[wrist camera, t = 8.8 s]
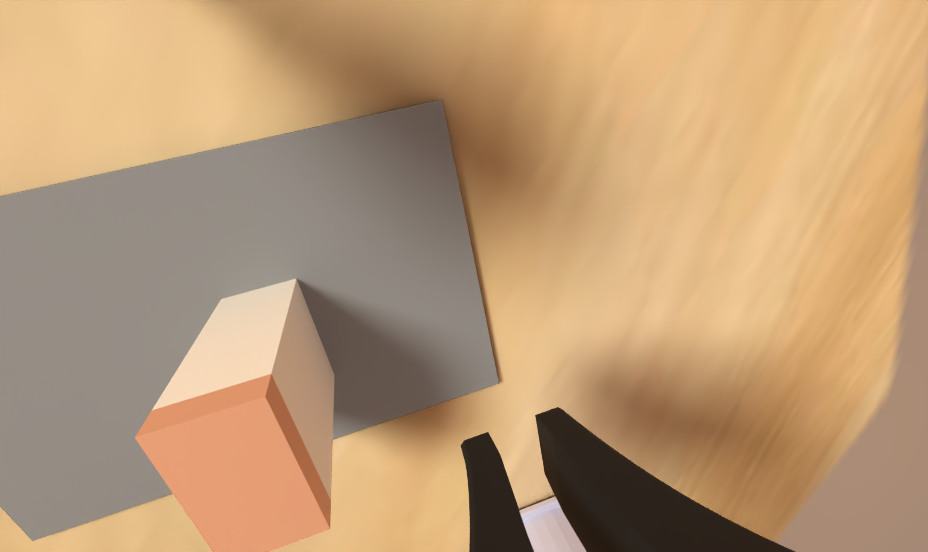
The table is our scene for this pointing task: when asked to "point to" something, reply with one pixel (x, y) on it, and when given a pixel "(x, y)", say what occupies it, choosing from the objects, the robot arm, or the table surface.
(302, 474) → the cream block
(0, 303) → the slate mat
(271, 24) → the table surface
